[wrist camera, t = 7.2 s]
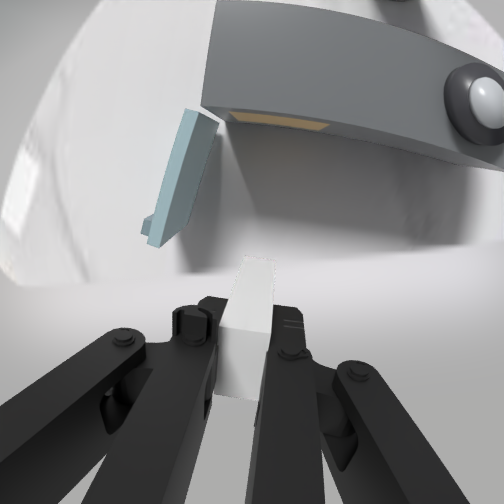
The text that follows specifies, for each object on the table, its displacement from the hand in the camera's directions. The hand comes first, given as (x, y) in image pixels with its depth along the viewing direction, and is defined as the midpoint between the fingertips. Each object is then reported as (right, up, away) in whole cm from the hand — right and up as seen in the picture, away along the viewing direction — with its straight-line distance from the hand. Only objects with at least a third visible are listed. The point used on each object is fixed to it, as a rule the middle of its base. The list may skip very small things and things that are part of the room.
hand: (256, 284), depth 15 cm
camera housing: (+10, +16, +11) cm, 22 cm away
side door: (-6, +9, +13) cm, 17 cm away
